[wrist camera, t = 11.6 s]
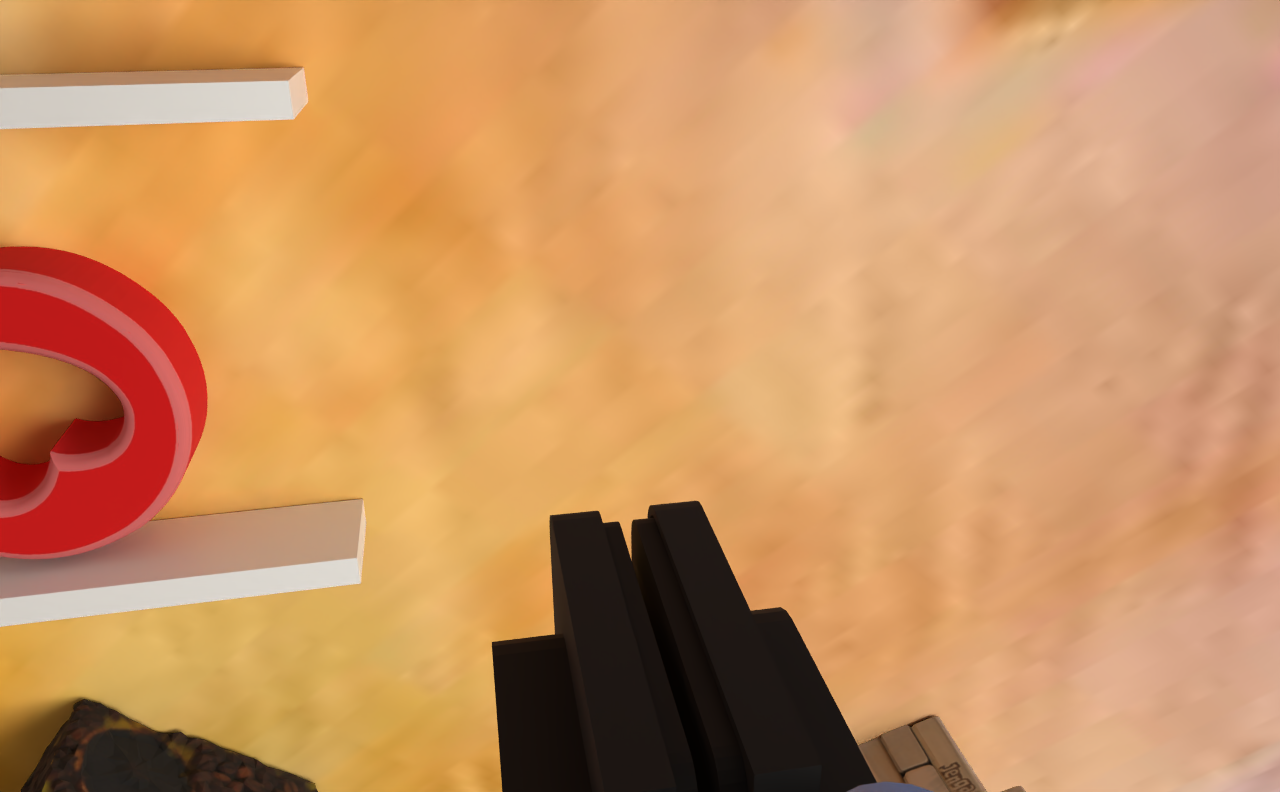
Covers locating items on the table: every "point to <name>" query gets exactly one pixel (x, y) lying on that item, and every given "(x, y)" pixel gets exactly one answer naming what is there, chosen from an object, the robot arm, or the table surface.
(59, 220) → the table surface
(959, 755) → the block tower
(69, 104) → the rail
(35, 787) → the olive cube with hole
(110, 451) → the decorative ornament
